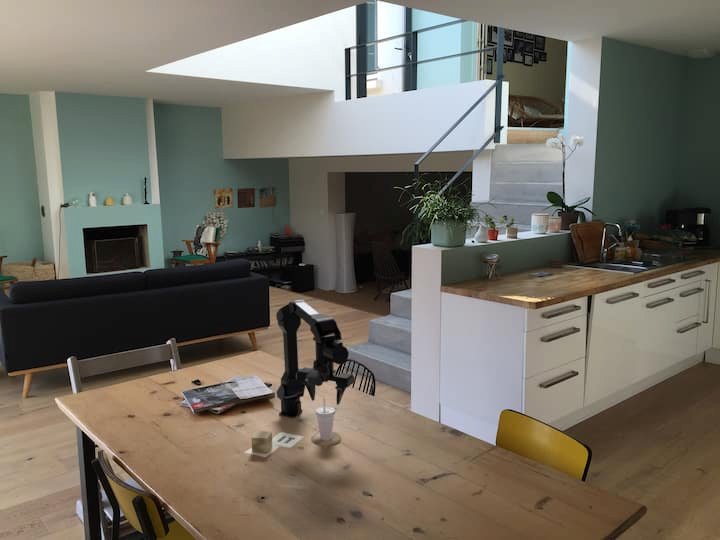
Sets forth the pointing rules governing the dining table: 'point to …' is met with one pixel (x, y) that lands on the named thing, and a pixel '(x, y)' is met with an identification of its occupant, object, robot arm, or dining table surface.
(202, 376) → the dining table surface
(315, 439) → the coaster
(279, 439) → the tile
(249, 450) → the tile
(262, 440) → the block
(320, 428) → the smoothie
